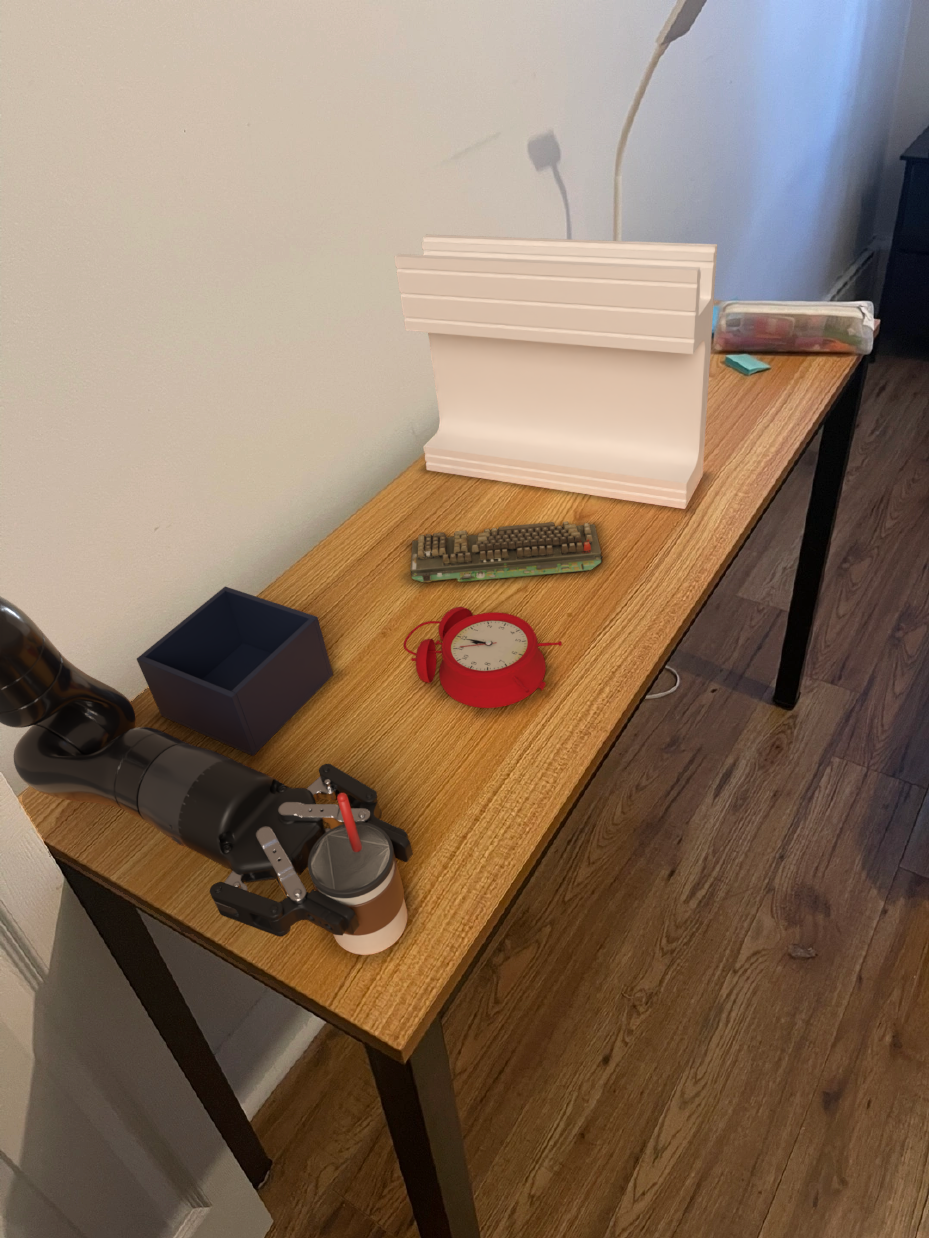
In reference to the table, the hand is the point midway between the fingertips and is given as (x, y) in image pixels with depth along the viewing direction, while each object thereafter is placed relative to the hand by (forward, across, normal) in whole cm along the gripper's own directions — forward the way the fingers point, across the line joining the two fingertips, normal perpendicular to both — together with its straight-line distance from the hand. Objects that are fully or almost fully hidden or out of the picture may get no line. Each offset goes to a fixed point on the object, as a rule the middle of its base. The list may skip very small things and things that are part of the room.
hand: (382, 885), depth 65 cm
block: (-19, +65, +6) cm, 68 cm away
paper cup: (-2, 0, +6) cm, 6 cm away
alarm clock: (-9, +28, +6) cm, 30 cm away
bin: (-28, +15, +6) cm, 33 cm away
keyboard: (-16, +46, +6) cm, 49 cm away
